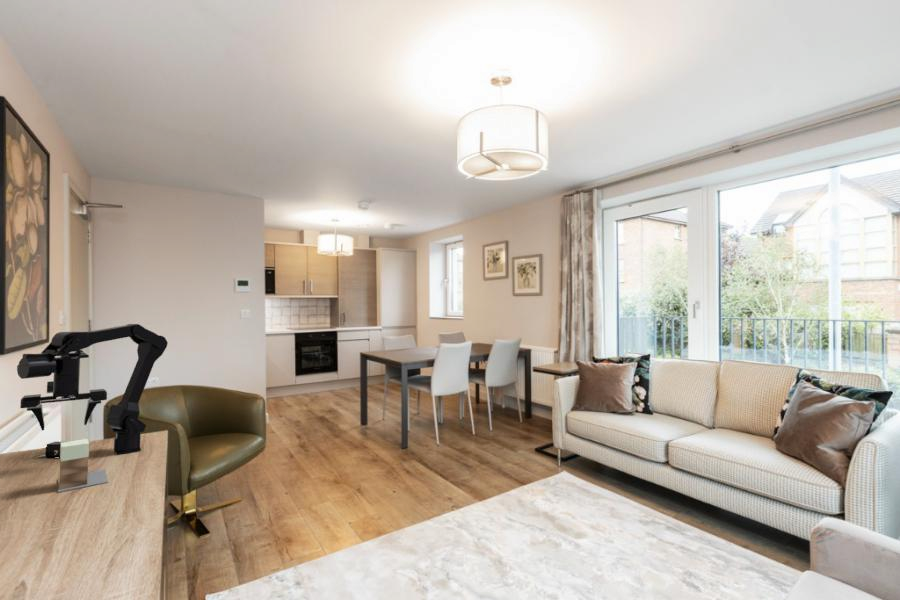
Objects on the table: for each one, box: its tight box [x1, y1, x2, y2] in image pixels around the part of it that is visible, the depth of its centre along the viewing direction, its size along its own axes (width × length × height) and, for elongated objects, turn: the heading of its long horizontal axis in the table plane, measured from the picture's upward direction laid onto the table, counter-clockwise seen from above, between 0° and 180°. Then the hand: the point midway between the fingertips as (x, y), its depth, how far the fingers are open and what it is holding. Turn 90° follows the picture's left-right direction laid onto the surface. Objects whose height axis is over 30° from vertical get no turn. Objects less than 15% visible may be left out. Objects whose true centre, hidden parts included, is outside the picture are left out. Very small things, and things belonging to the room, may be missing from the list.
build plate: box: [34, 441, 63, 459], centre depth 137 cm, size 12×7×5 cm, turn 90°
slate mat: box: [57, 469, 109, 494], centre depth 116 cm, size 10×12×1 cm
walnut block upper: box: [59, 457, 89, 477], centre depth 114 cm, size 6×6×4 cm
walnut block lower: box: [59, 470, 89, 490], centre depth 113 cm, size 6×6×4 cm
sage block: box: [59, 438, 90, 461], centre depth 114 cm, size 6×6×4 cm
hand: (64, 427), depth 126 cm, fingers open, 9 cm apart
